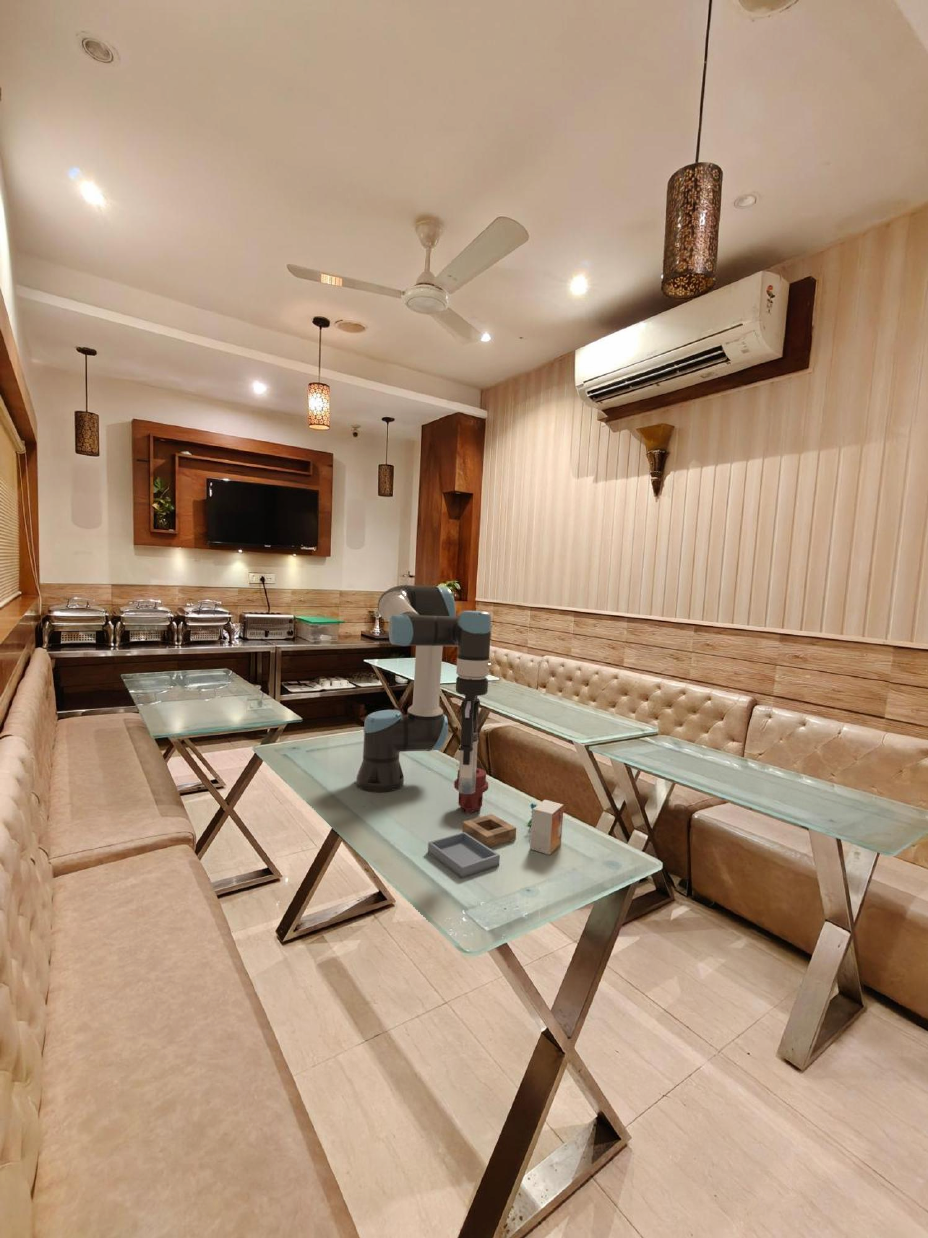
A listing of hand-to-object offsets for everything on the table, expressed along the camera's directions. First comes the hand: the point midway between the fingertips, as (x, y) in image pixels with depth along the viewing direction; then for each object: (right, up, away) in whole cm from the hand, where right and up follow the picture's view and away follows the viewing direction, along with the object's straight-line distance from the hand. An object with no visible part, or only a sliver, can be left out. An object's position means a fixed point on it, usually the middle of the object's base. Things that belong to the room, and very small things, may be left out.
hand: (467, 773), depth 130 cm
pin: (0, -4, 0) cm, 4 cm away
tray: (-1, -21, +1) cm, 21 cm away
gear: (+21, -21, +19) cm, 35 cm away
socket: (+6, -20, +14) cm, 25 cm away
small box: (+20, -22, +10) cm, 31 cm away
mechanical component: (+1, -19, +30) cm, 36 cm away
